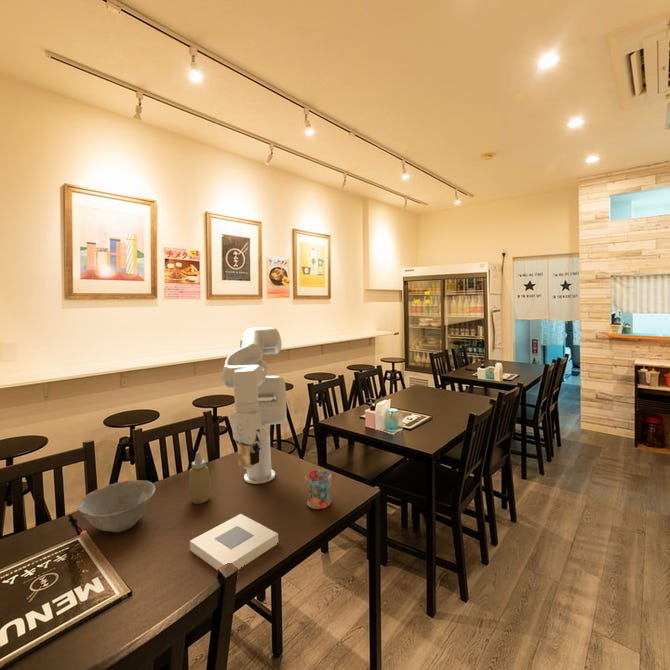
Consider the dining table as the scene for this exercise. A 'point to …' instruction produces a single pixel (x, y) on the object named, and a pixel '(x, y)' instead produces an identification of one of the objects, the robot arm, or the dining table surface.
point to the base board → (234, 542)
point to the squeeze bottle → (199, 481)
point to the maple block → (245, 455)
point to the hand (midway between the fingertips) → (249, 461)
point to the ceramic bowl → (117, 505)
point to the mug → (318, 488)
